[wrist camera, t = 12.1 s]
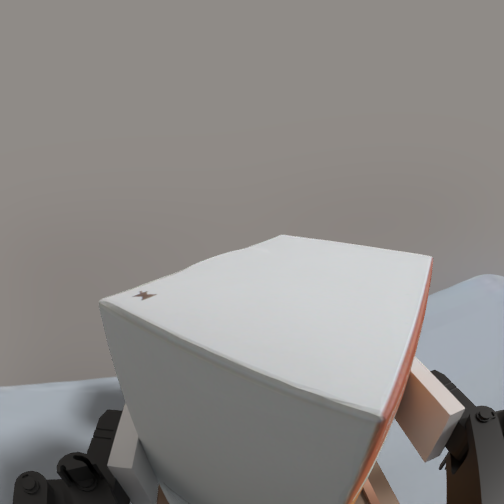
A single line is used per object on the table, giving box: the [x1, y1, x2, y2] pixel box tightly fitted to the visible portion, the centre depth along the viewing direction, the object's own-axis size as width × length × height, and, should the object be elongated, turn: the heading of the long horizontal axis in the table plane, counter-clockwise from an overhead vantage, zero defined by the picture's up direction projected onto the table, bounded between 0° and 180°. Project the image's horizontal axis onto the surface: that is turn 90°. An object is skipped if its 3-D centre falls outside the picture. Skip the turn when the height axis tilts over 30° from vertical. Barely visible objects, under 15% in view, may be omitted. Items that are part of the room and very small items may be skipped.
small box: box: [99, 235, 433, 504], centre depth 9 cm, size 8×6×13 cm
